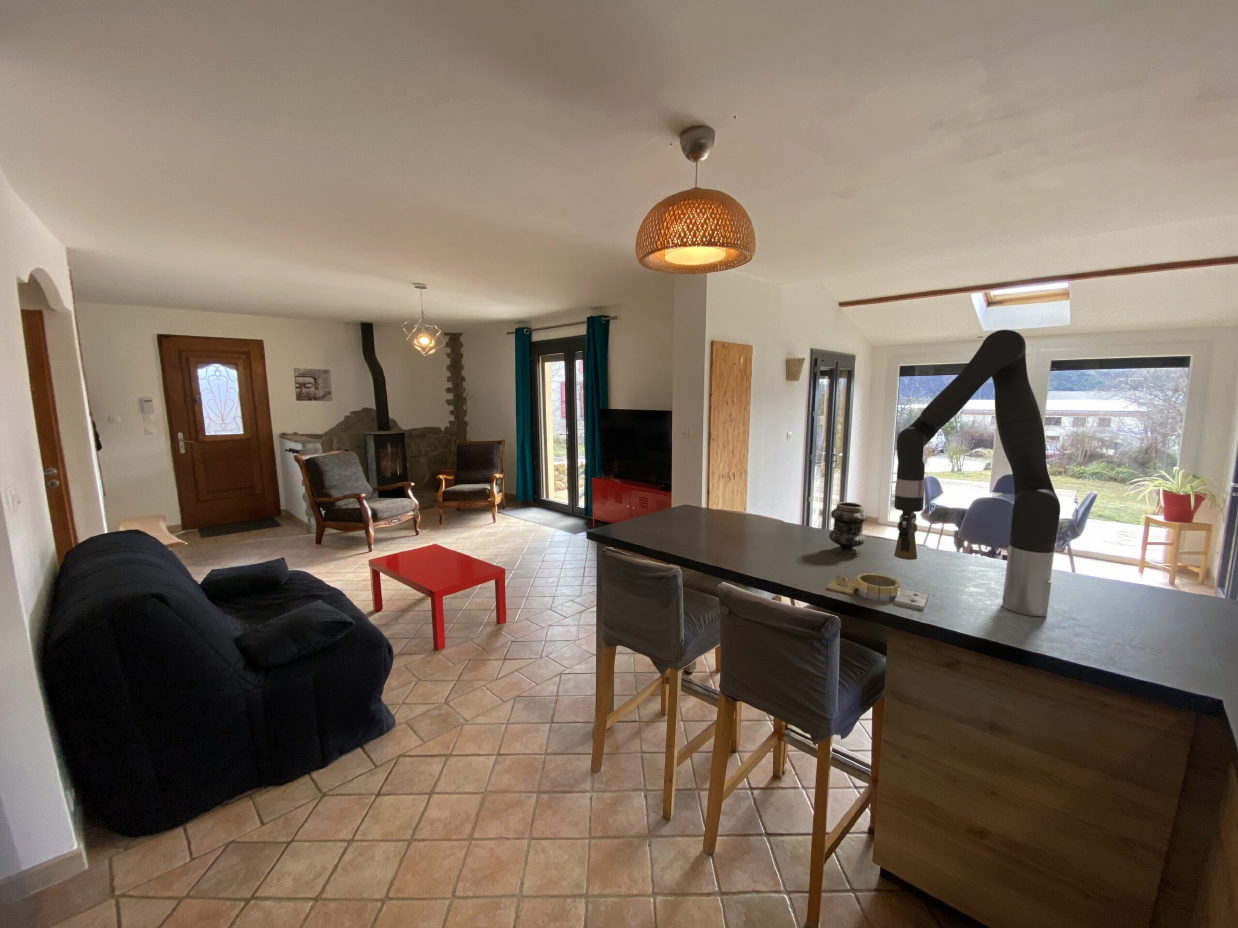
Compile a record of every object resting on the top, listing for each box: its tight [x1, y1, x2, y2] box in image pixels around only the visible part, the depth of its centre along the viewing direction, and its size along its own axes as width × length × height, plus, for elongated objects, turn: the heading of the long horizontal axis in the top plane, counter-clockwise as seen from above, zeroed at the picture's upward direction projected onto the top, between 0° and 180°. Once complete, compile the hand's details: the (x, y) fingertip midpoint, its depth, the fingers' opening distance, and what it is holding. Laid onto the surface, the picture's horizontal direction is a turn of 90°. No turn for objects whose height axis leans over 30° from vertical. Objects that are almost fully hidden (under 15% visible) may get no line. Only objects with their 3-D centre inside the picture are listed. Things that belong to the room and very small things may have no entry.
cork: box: [893, 522, 918, 561], centre depth 150 cm, size 6×6×11 cm
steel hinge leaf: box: [855, 581, 929, 612], centre depth 142 cm, size 18×11×2 cm, turn 52°
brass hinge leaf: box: [827, 572, 901, 596], centre depth 146 cm, size 18×11×4 cm, turn 52°
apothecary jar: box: [828, 501, 868, 557], centre depth 180 cm, size 12×12×18 cm
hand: (906, 549), depth 150 cm, fingers closed on cork, 4 cm apart
